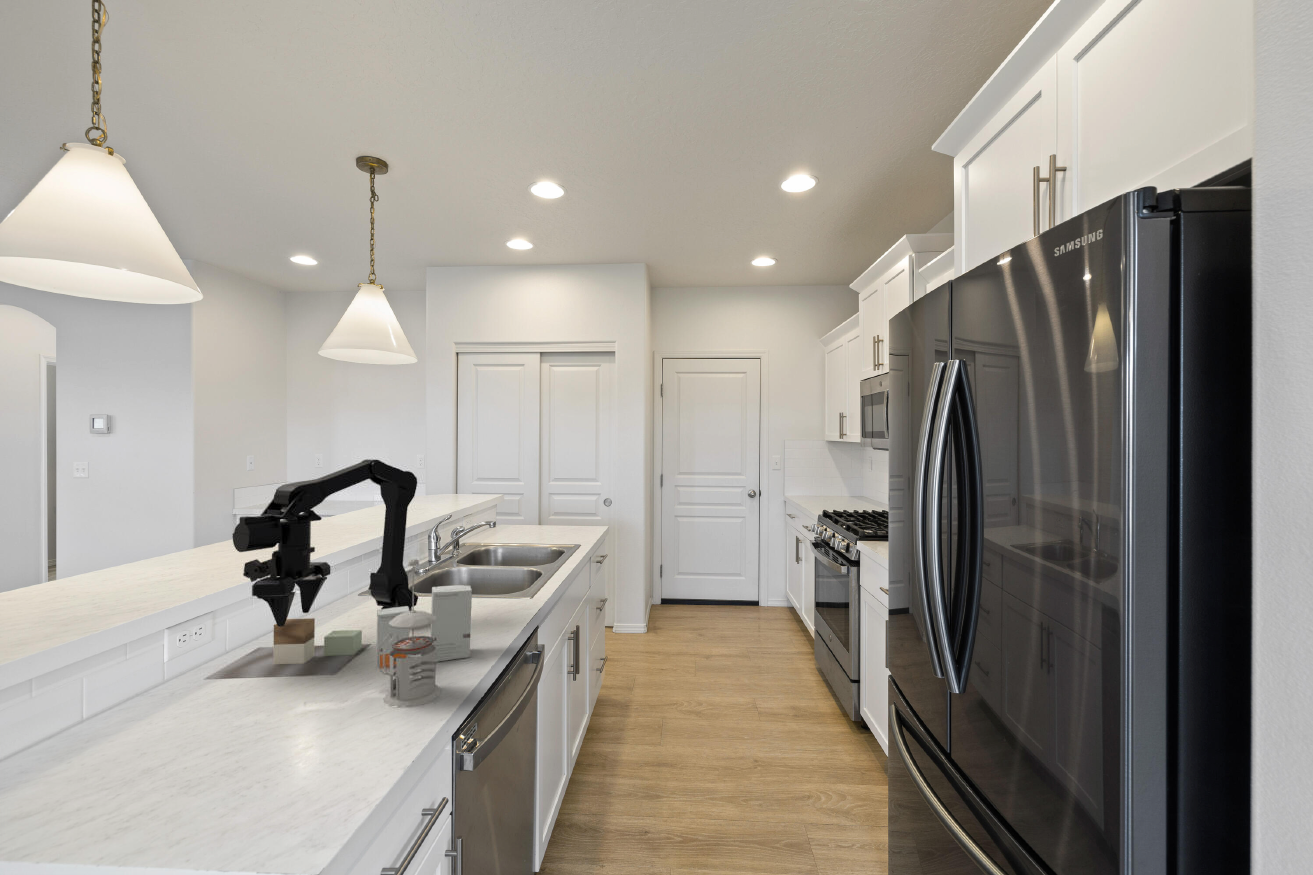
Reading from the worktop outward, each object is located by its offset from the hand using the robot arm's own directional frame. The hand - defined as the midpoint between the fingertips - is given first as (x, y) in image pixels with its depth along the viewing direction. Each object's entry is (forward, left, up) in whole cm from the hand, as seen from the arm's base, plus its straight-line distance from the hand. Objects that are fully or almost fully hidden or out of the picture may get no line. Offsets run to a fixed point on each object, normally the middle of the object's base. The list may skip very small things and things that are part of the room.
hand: (293, 619), depth 117 cm
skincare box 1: (-21, +3, -10) cm, 23 cm away
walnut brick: (0, 0, -5) cm, 5 cm away
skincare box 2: (-31, -3, -10) cm, 33 cm away
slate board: (0, 0, -10) cm, 10 cm away
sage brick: (-8, -4, -9) cm, 12 cm away
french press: (-29, +17, -10) cm, 35 cm away
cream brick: (0, 0, -9) cm, 9 cm away
